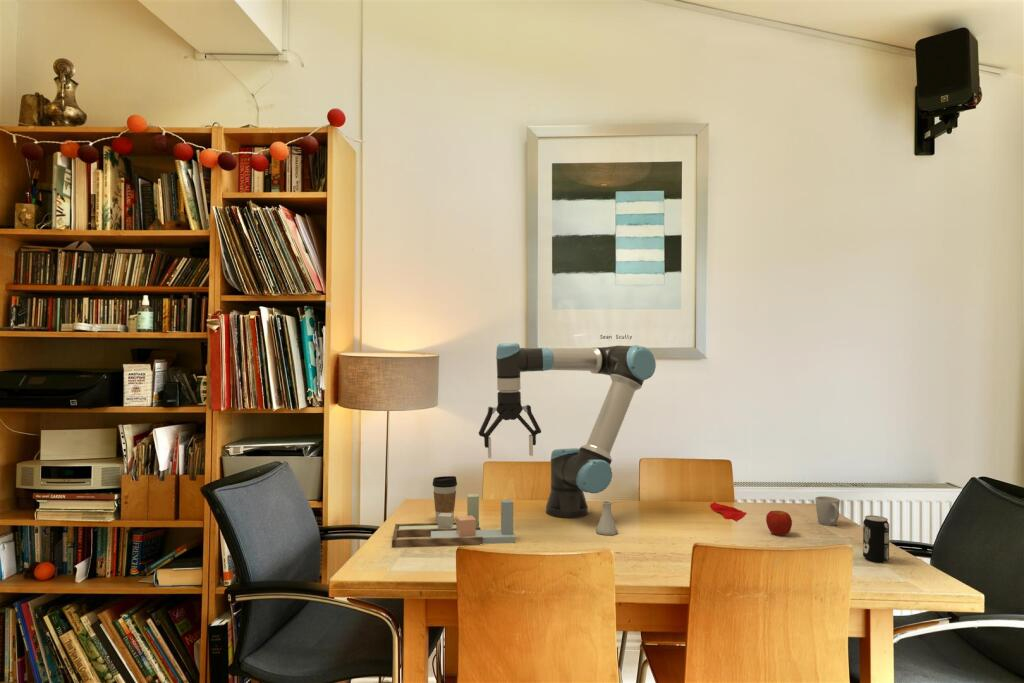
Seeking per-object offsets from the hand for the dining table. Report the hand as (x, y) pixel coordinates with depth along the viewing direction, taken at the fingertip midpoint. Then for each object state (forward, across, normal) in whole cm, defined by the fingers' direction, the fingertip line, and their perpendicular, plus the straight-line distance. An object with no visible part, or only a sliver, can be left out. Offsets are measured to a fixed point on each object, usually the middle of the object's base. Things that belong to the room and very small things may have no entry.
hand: (510, 456), depth 220 cm
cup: (+28, -108, +7) cm, 112 cm away
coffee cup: (+24, +21, -16) cm, 36 cm away
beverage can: (+27, -98, +43) cm, 111 cm away
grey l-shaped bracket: (+24, +24, -1) cm, 33 cm away
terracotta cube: (+22, +16, +7) cm, 28 cm away
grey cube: (+22, +22, -1) cm, 31 cm away
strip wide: (+24, +14, +7) cm, 28 cm away
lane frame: (+24, +24, +4) cm, 34 cm away
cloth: (+28, -81, -13) cm, 87 cm away
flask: (+26, -30, +5) cm, 40 cm away
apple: (+27, -85, +15) cm, 90 cm away
